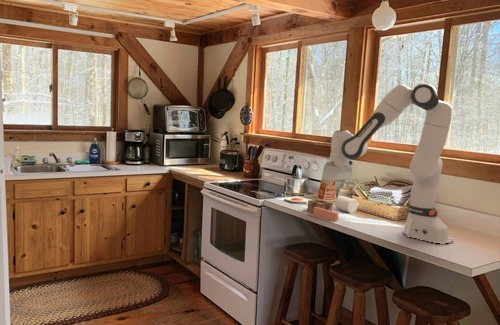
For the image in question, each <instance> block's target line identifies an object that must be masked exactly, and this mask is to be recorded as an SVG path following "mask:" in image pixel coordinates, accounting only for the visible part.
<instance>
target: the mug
mask: <svg viewBox="0 0 500 325" xmlns="http://www.w3.org/2000/svg"><path fill="white" fill-rule="evenodd" d="M359 205H360V204H359V202H358V201H357V200H356V199H354V198H351V197H348V196H344V195H339V196H338V197H336V200H335V202H334V206H335V208H336V209H338V210H339V211H343V212H346V213H350V214H354V213H356V211H357V210H358V206H359Z"/></svg>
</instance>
